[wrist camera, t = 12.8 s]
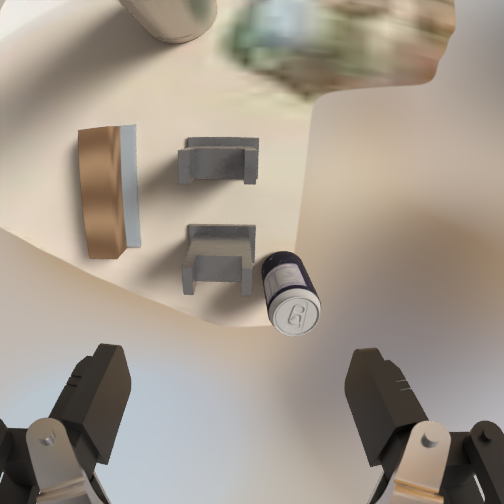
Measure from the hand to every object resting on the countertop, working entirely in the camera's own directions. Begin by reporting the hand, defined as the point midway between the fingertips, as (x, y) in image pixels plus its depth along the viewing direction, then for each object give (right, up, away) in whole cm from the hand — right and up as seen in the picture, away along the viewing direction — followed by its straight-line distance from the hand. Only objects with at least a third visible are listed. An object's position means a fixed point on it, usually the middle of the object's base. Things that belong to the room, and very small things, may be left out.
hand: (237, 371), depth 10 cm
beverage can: (+4, +2, +32) cm, 33 cm away
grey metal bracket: (-3, +15, +26) cm, 31 cm away
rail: (-18, +12, +26) cm, 34 cm away
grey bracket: (-3, +5, +30) cm, 31 cm away
